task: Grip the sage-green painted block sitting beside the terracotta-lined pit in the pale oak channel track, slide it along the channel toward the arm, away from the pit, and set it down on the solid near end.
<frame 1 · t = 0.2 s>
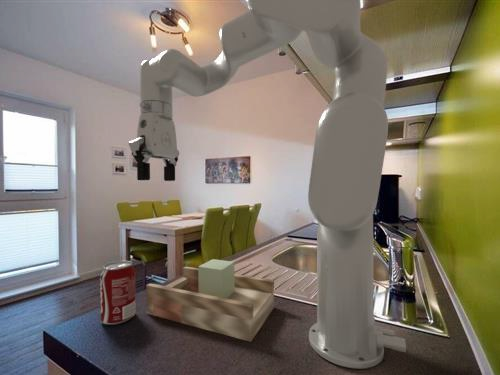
hand: (157, 180, 62), 31 cm above the countertop, fingers open, 9 cm apart
soda can: (118, 319, 54), on the countertop
channel track: (211, 310, 57), on the countertop
sage block: (217, 294, 56), point 4 cm above the countertop, touching channel track
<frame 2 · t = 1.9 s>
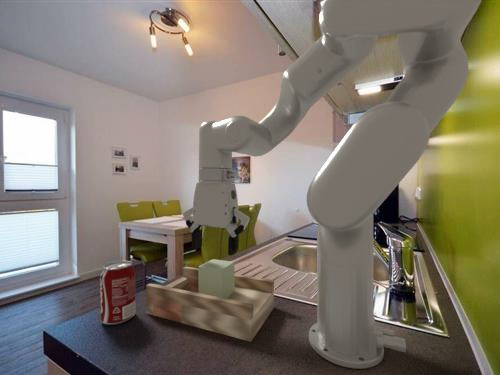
hand: (214, 250, 57), 14 cm above the countertop, fingers open, 9 cm apart
nothing on the countertop moved.
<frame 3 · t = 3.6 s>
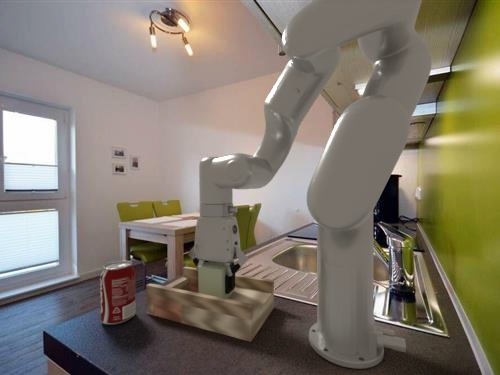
hand: (217, 288, 56), 5 cm above the countertop, fingers closed on sage block, 6 cm apart
sage block: (217, 294, 56), point 4 cm above the countertop, touching channel track, gripper
everything else where it was.
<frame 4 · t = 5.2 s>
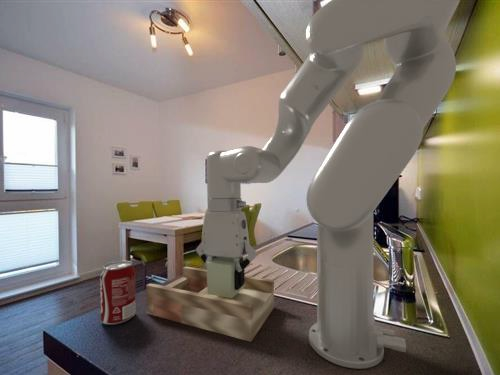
hand: (225, 284, 55), 7 cm above the countertop, fingers closed on sage block, 6 cm apart
sage block: (226, 290, 55), point 5 cm above the countertop, touching gripper
everything else where it was.
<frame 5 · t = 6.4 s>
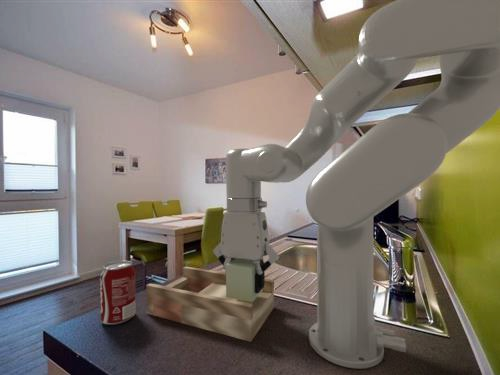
hand: (244, 287, 54), 7 cm above the countertop, fingers closed on sage block, 6 cm apart
sage block: (244, 293, 54), point 5 cm above the countertop, touching gripper
everything else where it was.
when the fingers open (7 cm above the countertop, at t = 7.1 s): sage block drops 1 cm, resting on channel track.
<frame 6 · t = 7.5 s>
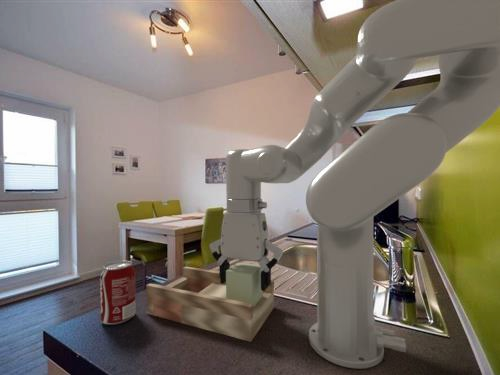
hand: (244, 284, 54), 7 cm above the countertop, fingers open, 9 cm apart
sage block: (244, 299, 54), point 4 cm above the countertop, touching channel track
everything else where it was.
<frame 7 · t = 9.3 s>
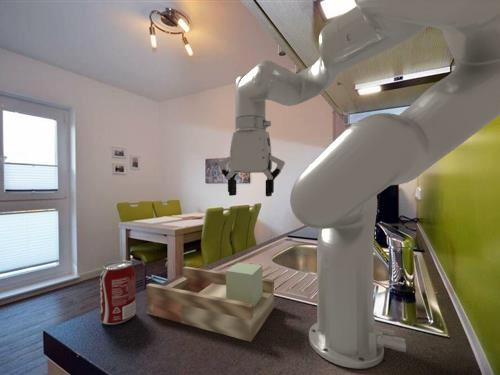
hand: (250, 195, 61), 27 cm above the countertop, fingers open, 9 cm apart
nothing on the countertop moved.
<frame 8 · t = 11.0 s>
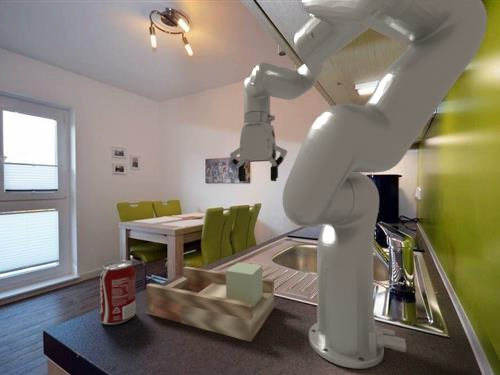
hand: (257, 181, 70), 30 cm above the countertop, fingers open, 9 cm apart
nothing on the countertop moved.
at the end: sage block 0.6 cm from the target spot, point 4.0 cm above the countertop; sage block tilted 0°; the gripper is holding nothing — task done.
